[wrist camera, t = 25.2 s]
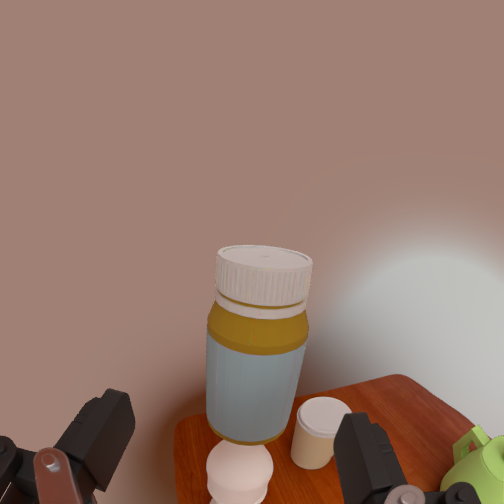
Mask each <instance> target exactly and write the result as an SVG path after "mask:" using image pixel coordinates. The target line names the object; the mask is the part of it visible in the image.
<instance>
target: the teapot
mask: <svg viewBox="0 0 504 504" xmlns="http://www.w3.org/2000/svg"><path fill="white" fill-rule="evenodd" d="M472 441H473V442H474V443H475V445H476V447H477V448H476V449H475V450H473V451H472V452H470V453H469V444H470V443H471V442H472ZM453 454H454V466H453V467H452V468H451V469H450V470H449V471H448V472H447V473H446V474H445V476H444V477H443V479H442V482H441V485H440V491H446V490H447V489H448V488H449V487H450V486H451V485H452V484H454V483H456V482H467V483H470V484H471V485H472V486H473V487H474V488H475V490H476V492H477V494H478V497H479V499H480V501H481V504H504V436H502V435H501V436H498V437H495V438H494V439H492V440H490V439H489V438H488V436H487V435H486V434H485V432H484V431H483V430H482V428H481V427H480V426H479V425H477V426H476V427H474V428H472V429H471V430H470V431H469V432H468V433H466V434H465V435H464V436H463V437H462V438H461V439H460V440H458V441H457V442H456V443H455V444H454V445H453Z"/></svg>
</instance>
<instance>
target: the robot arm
mask: <svg viewBox="0 0 504 504" xmlns="http://www.w3.org/2000/svg"><path fill="white" fill-rule="evenodd" d="M134 429H135V417H134V414H133V410H132V406H131V402H130V398H129V395H128V394H127V393H125V392H121V391H118V390H114V389H110V388H109V389H107V390H106V391H105V393H104V394H103V396H102V397H101V398H97V397H95V398H93V399H92V400H90V401H88V402H87V403H85V405H84V406H83V407H82V409H81V410H80V412H79V414H77V416H76V417H75V419H74V421H72V422H71V424H70V425H69V427H68V428H67V430H66V431H65V432H64V434H63V435H62V436H61V438H60V439H59V440H58V442H57V443H56V445H55V446H54V447H53V448H44V449H41V450H40V451H39V452H32V451H28V450H24V449H21V448H17V447H16V445H15V444H14V443H13V441H12V440H11V439H10V438H8V437H6V436H0V499H1V497H2V496H3V494H4V492H5V490H6V489H7V487H8V485H9V484H10V482H11V484H10V486H9V488H8V489H7V491H6V493H5V495H4V496H3V498H2V500H1V502H0V504H97V501H96V499H95V496H94V494H93V492H94V490H95V489H98V490H100V491H103V492H105V491H106V489H107V486H108V485H109V482H110V480H111V478H112V476H113V474H114V472H115V470H116V467H117V466H118V463H119V461H120V459H121V457H122V455H123V453H124V451H125V449H126V446H127V445H128V443H129V441H130V439H131V437H132V435H133V432H134ZM333 451H334V456H335V460H336V465H337V469H338V474H339V479H340V483H341V488H342V493H343V498H344V503H345V504H481V501H480V499H479V497H478V494H477V492H476V490H475V488H474V487H473V486H472V485H471V484H470V483H467V482H456V483H454V484H452V485H451V486H450V487H449V488H448V489H447V490H446V491H437V492H422V491H421V489H419V488H418V487H416V486H413V485H409V484H408V483H407V481H406V479H405V477H404V474H403V472H402V469H401V467H400V464H399V462H398V459H397V457H396V454H395V452H393V447H392V445H391V444H390V440H389V438H388V436H387V433H386V431H385V430H383V429H382V428H381V427H380V426H379V425H378V424H377V423H375V424H371V423H370V421H369V418H368V416H367V414H366V413H365V412H357V413H346V414H344V416H343V419H342V421H341V423H340V426H339V428H338V431H337V433H336V435H335V438H334V443H333Z"/></svg>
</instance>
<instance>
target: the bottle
mask: <svg viewBox="0 0 504 504" xmlns="http://www.w3.org/2000/svg"><path fill="white" fill-rule="evenodd" d="M312 262H313V261H312V259H311V258H310V257H308V256H307V255H305V254H302V253H299V252H296V251H293V250H288V249H284V248H278V247H271V246H260V245H235V246H228V247H224V248H222V249H220V250H219V251H218V254H217V258H216V276H215V277H216V278H215V284H216V290H215V302H214V304H213V306H212V309H211V311H210V313H209V316H208V324H207V351H206V353H207V354H206V412H207V420H208V424H209V426H210V427H211V429H212V430H213V432H214V433H215V434H217V435H218V436H219V437H221V438H222V439H224V440H226V441H228V442H231V443H234V444H237V445H245V446H256V445H263V444H266V443H269V442H271V441H273V440H275V439H277V438H278V437H279V436H280V435H281V434H282V433H283V432H284V430H285V428H286V426H287V423H288V420H289V416H290V412H291V408H292V405H293V400H294V396H295V392H296V388H297V384H298V379H299V375H300V371H301V366H302V361H303V356H304V352H305V347H306V342H307V337H308V330H309V326H308V320H307V316H306V310H305V309H306V304H307V295H308V293H309V289H310V283H311V276H312V269H313V264H312Z"/></svg>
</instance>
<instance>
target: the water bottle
mask: <svg viewBox="0 0 504 504" xmlns="http://www.w3.org/2000/svg"><path fill="white" fill-rule="evenodd" d="M206 469H207V473H208V483H207V488H208V491H209V492H210V494H211V496H212V497H213V498H212V500H211V502H210V504H260V503H261V502H262V501H263V499H264V498H265V495H266V492H267V485H268V482H269V480H270V478H271V476H272V473H273V462H272V458H271V456H270V454H269V452H268V451H267V449H266V448H265V447H264V445H256V446H245V445H237V444H234V443H231V442H228V441H226V440H222V441H221V442H220V443H219V444H218V445H216V446H215V447H214V448H213V450H212V451H211V452H210V454H209V456H208V459H207V464H206Z"/></svg>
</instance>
